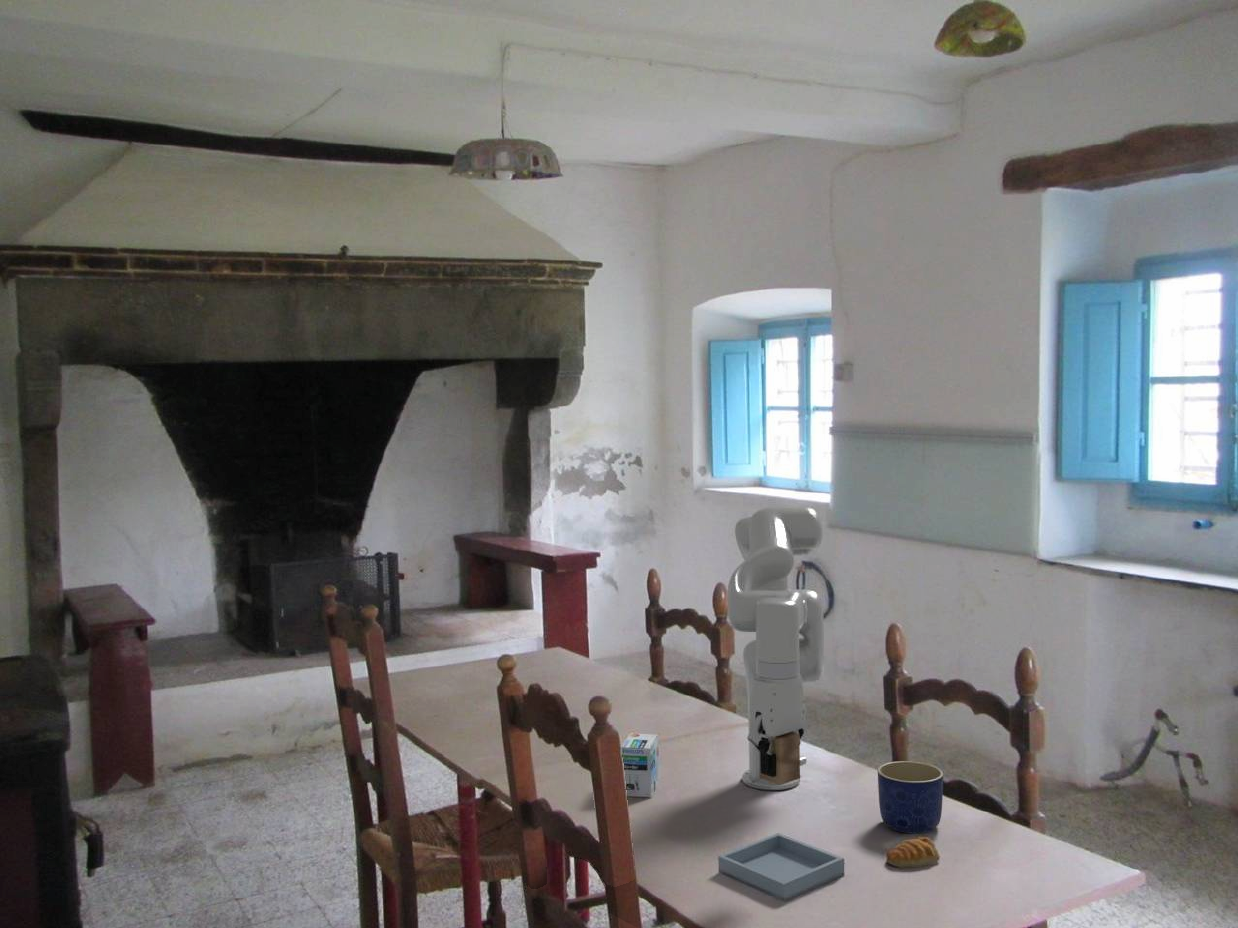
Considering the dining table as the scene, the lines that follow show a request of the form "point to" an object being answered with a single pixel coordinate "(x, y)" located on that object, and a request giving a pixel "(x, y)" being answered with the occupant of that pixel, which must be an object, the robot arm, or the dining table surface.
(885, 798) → the planter
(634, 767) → the light bulb box
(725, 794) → the dining table surface
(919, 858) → the pastry
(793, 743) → the walnut block
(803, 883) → the tray
